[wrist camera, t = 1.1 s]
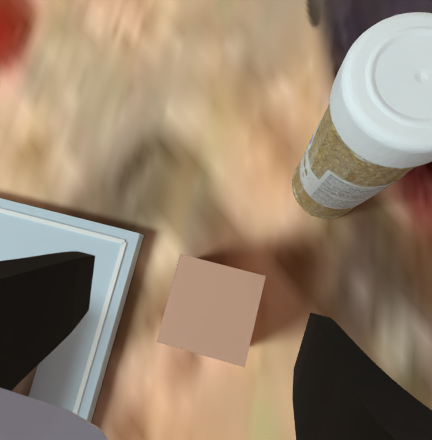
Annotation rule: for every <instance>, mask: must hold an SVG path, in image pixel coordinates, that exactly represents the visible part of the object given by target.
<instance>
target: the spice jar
mask: <svg viewBox="0 0 432 440" xmlns="http://www.w3.org/2000/svg"><path fill="white" fill-rule="evenodd" d="M431 161H432V13H422V12H415V13H404V14H400V15H396V16H393V17H390V18H387V19H384V20H382V21H380V22H379V23H377V24H375V25H374V26H372V27H370V28H369V29H368V30H367V31H365V32H364V33H363V34H362V35H361V36H360V37H359V38H358V39H357V40H356V41H355V42H354V44H353V45H352V46H351V48H350V49H349V51H348V53H347V55H346V57H345V59H344V61H343V63H342V65H341V67H340V69H339V71H338V74H337V76H336V79H335V81H334V84H333V87H332V90H331V95H330V104H329V106H328V108H327V110H326V112H325V114H324V116H323V118H322V119H321V121H320V123H319V125H318V126H317V128H316V131H315V133H314V135H313V137H312V139H311V141H310V143H309V145H308V147H307V149H306V151H305V153H304V155H303V157H302V160H301V162H300V164H299V165H298V167H297V168H296V170H295V173H294V175H293V180H292V186H293V194H294V196H295V198H296V200H297V202H298V203H299V204H300V206H301V207H302V208H303V209H304V210H305V211H306V212H308V213H309V214H311V215H312V216H316V217H319V218H325V219H331V218H338V217H340V216H342V215H345V214H347V213H348V212H350V211H351V210H352V209H353V208H354V207H355V206H357V205H359V204H361V203H363V202H364V201H366V200H368V199H369V198H371V197H372V196H374V195H376V194H377V193H379V192H380V191H382V190H383V189H385V188H386V187H388V186H390V185H391V184H393V183H394V182H396V181H397V180H399V179H400V178H402V177H403V176H404V175H405V174H406V173H407V172H408V171H410V170H412V169H413V168H415V167H416V166H420V165H423V164H426V163H429V162H431Z"/></svg>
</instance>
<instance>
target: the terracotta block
mask: <svg viewBox="0 0 432 440" xmlns="http://www.w3.org/2000/svg"><path fill="white" fill-rule="evenodd" d="M265 278H266V276H264V275H260V274H256V273H252V272H248V271H244V270H241V269H237V268H233V267H229V266H225V265H221V264H217V263H213V262H209V261H205V260H201V259H198V258H194V257H190V256H186V255H182V254H180V257H179V261H178V264H177V268H176V272H175V275H174V279H173V283H172V287H171V290H170V294H169V298H168V302H167V305H166V309H165V313H164V317H163V320H162V324H161V328H160V332H159V335H158V339H157V342H159V343H163V344H166V345H170V346H173V347H177V348H180V349H184V350H187V351H191V352H194V353H197V354H201V355H204V356H208V357H211V358H215V359H218V360H222V361H225V362H229V363H232V364H235V365H239V366H242V367H245V363H246V359H247V355H248V351H249V346H250V342H251V338H252V333H253V329H254V325H255V321H256V316H257V312H258V308H259V304H260V299H261V295H262V291H263V286H264V282H265Z"/></svg>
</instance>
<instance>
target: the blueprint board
mask: <svg viewBox="0 0 432 440" xmlns="http://www.w3.org/2000/svg"><path fill="white" fill-rule="evenodd" d="M143 237H144V235H143V234H140V233H136V232H132V231H128V230H124V229H120V228H116V227H112V226H108V225H104V224H101V223H97V222H93V221H89V220H85V219H81V218H77V217H73V216H69V215H65V214H61V213H57V212H53V211H49V210H45V209H41V208H37V207H33V206H29V205H25V204H21V203H17V202H13V201H9V200H5V199H1V198H0V261H4V260H11V259H19V258H26V257H32V256H39V255H45V254H52V253H59V252H69V251H79V252H83V253H87V254H91V255H94V256H95V262H94V271H93V279H92V288H91V296H90V304H89V311H88V312H87V313H86V315H85V316H84V317H83V319H82V320H81V321H80V323H79V324H78V325H77V326H76V328H75V329H74V330H73V331H72V333H71V334H70V335H69V336H68V337H67V338H66V339H65V340H63V341H62V342H61V343H60V344H59V345H58V346H57V347H56V348H55V349H54V350H53V351H52V352H51V353H50V354H49V355H48V356H47V357H46V358H45V359H44V360H43V361H42V362H41V363H39V364H38V367H37V370H36V374H35V377H34V380H33V383H32V387H31V390H30V393H29V396H28V397H31V398H34V399H37V400H40V401H43V402H46V403H49V404H52V405H55V406H58V407H61V408H64V409H68V410H69V411H71V412H73V413H75V414H76V415H78V416H80V417H81V418H83V419H85V420H87V421H88V422H90V423H91V421H92V418H93V414H94V411H95V407H96V403H97V400H98V396H99V393H100V389H101V386H102V382H103V379H104V375H105V372H106V368H107V365H108V361H109V358H110V354H111V350H112V347H113V343H114V340H115V336H116V333H117V329H118V326H119V322H120V319H121V315H122V312H123V308H124V305H125V301H126V297H127V294H128V290H129V287H130V283H131V280H132V276H133V273H134V269H135V266H136V262H137V259H138V255H139V252H140V248H141V244H142V241H143Z"/></svg>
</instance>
